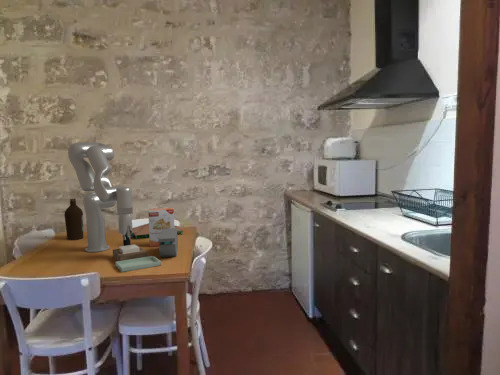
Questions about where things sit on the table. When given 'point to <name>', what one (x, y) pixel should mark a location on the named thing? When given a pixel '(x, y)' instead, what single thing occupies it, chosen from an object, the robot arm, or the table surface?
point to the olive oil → (74, 221)
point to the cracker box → (159, 223)
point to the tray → (137, 263)
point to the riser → (129, 255)
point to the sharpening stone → (168, 242)
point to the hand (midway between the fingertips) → (127, 246)
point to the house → (147, 230)
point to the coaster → (129, 249)
